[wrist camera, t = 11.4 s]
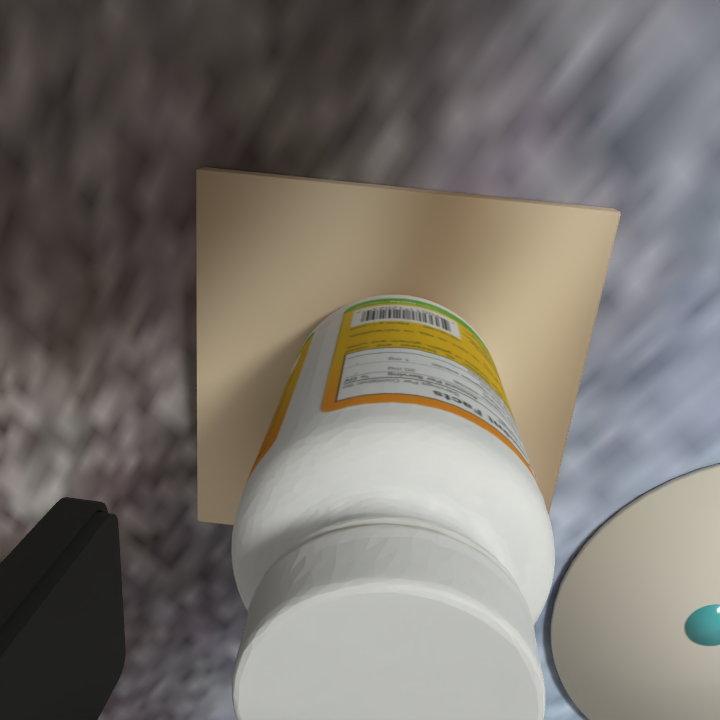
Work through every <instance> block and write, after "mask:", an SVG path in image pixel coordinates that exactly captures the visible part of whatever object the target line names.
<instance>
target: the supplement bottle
mask: <svg viewBox="0 0 720 720" xmlns="http://www.w3.org/2000/svg"><path fill="white" fill-rule="evenodd" d="M231 553H232V566H233V572H234V577H235V581H236V584H237V588H238V591H239V594H240V596H241V599H242V601H243V603H244V605H245V607H246V609H247V611H248V612H247V618H246V623H245V628H244V632H243V635H242V639H241V643H240V646H239V650H238V654H237V658H236V662H235V666H234V671H233V681H232V699H233V706H234V711H235V714H236V717H237V720H543V718H544V712H545V684H544V679H543V674H542V669H541V664H540V659H539V654H538V649H537V644H536V639H535V632H534V624H535V623H536V621H537V619H538V618H539V616H540V614H541V612H542V610H543V608H544V605H545V603H546V600H547V598H548V595H549V592H550V588H551V585H552V580H553V574H554V567H555V548H554V537H553V532H552V527H551V523H550V519H549V515H548V512H547V509H546V506H545V502H544V499H543V495H542V493H541V490H540V488H539V485H538V482H537V479H536V476H535V474H534V472H533V469H532V467H531V464H530V461H529V459H528V456H527V453H526V450H525V448H524V445H523V442H522V439H521V436H520V433H519V431H518V428H517V425H516V422H515V420H514V417H513V414H512V411H511V408H510V406H509V403H508V400H507V397H506V394H505V391H504V389H503V386H502V383H501V380H500V377H499V374H498V372H497V369H496V366H495V364H494V362H493V359H492V357H491V355H490V353H489V351H488V349H487V347H486V345H485V343H484V341H483V340H482V339H481V337H480V336H479V335H478V333H477V332H476V331H475V330H474V329H473V328H472V327H471V325H469V324H468V323H467V322H466V321H465V320H464V319H463V318H461V317H460V316H458V315H457V314H456V313H454V312H452V311H451V310H449V309H447V308H445V307H443V306H441V305H439V304H437V303H434V302H432V301H429V300H426V299H423V298H419V297H414V296H408V295H379V296H373V297H368V298H364V299H361V300H358V301H355V302H353V303H350V304H348V305H346V306H344V307H342V308H340V309H339V310H337V311H335V312H334V313H332V314H331V315H329V316H328V317H327V318H326V319H324V320H323V321H322V322H321V323H320V324H319V325H318V326H317V327H316V328H315V329H314V330H313V331H312V333H311V334H310V335H309V336H308V338H307V339H306V341H305V342H304V344H303V346H302V347H301V349H300V351H299V353H298V355H297V357H296V360H295V362H294V364H293V367H292V369H291V372H290V374H289V377H288V380H287V383H286V385H285V388H284V390H283V393H282V396H281V398H280V400H279V403H278V406H277V408H276V411H275V413H274V416H273V418H272V421H271V423H270V426H269V428H268V431H267V433H266V436H265V438H264V441H263V443H262V446H261V448H260V450H259V453H258V455H257V458H256V460H255V463H254V465H253V467H252V470H251V472H250V475H249V478H248V480H247V483H246V485H245V488H244V491H243V494H242V497H241V500H240V504H239V507H238V510H237V514H236V517H235V521H234V527H233V532H232V548H231Z"/></svg>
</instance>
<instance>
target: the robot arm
mask: <svg viewBox="0 0 720 720" xmlns="http://www.w3.org/2000/svg"><path fill="white" fill-rule="evenodd" d="M124 661H125V633H124V616H123V598H122V581H121V563H120V546H119V528H118V519H117V517H116V515H115V514H110V513H108V510H107V507H106V505H105V504H104V503H102V502H98V501H90V500H83V499H75V498H68V497H66V498H62V499H61V500H59V501H58V502H57V503H56V504H55V505H54V506H53V507H52V508H51V509H50V510H49V512H48V513H47V514H46V515H45V516H44V517H43V518H42V519H41V520H40V521H39V522H38V523H37V525H36V526H35V527H34V528H33V529H32V530H31V531H30V532H29V533H28V534H27V535H26V536H25V538H24V539H23V540H22V541H21V542H20V543H19V544H18V545H17V546H16V547H15V548H14V549H13V551H12V552H11V553H10V554H9V555H8V556H7V557H6V558H5V559H4V560H3V561H2V562H1V564H0V720H97V719H98V717H99V716H100V714H101V712H102V710H103V708H104V706H105V704H106V702H107V700H108V699H109V697H110V695H111V693H112V691H113V689H114V687H115V685H116V684H117V682H118V680H119V677H120V675H121V672H122V669H123V666H124Z"/></svg>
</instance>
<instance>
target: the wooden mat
mask: <svg viewBox="0 0 720 720" xmlns="http://www.w3.org/2000/svg"><path fill="white" fill-rule="evenodd" d="M620 214H621V212H619V211H617V210H615V209H613V208H604V207H594V206H584V205H574V204H564V203H555V202H545V201H535V200H525V199H515V198H505V197H495V196H485V195H475V194H465V193H456V192H446V191H436V190H426V189H416V188H406V187H396V186H386V185H376V184H367V183H357V182H347V181H337V180H327V179H317V178H307V177H297V176H287V175H277V174H268V173H258V172H248V171H238V170H228V169H218V168H208V167H202V168H199V169H196V243H197V521H201V522H210V523H219V524H228V525H234V521H235V517H236V514H237V510H238V507H239V504H240V500H241V497H242V494H243V491H244V488H245V485H246V483H247V480H248V478H249V475H250V472H251V470H252V467H253V465H254V463H255V460H256V458H257V455H258V453H259V450H260V448H261V446H262V443H263V441H264V438H265V436H266V433H267V431H268V428H269V426H270V423H271V421H272V418H273V416H274V413H275V411H276V408H277V406H278V403H279V400H280V398H281V396H282V393H283V390H284V388H285V385H286V383H287V380H288V377H289V374H290V372H291V369H292V367H293V364H294V362H295V360H296V357H297V355H298V353H299V351H300V349H301V347H302V346H303V344H304V342H305V341H306V339H307V338H308V336H309V335H310V334H311V333H312V331H313V330H314V329H315V328H316V327H317V326H318V325H319V324H320V323H321V322H322V321H323V320H324V319H326V318H327V317H328V316H329V315H331V314H332V313H334V312H335V311H337V310H339V309H340V308H342V307H344V306H346V305H348V304H350V303H353V302H355V301H358V300H361V299H364V298H368V297H373V296H379V295H408V296H414V297H419V298H423V299H426V300H429V301H432V302H434V303H437V304H439V305H441V306H443V307H445V308H447V309H449V310H451V311H452V312H454V313H456V314H457V315H458V316H460V317H461V318H463V319H464V320H465V321H466V322H467V323H468V324H469V325H471V327H472V328H473V329H474V330H475V331H476V332H477V333H478V335H479V336H480V337H481V339H482V340H483V341H484V343H485V345H486V347H487V349H488V351H489V353H490V355H491V357H492V359H493V362H494V364H495V366H496V369H497V372H498V374H499V377H500V380H501V383H502V386H503V389H504V391H505V394H506V397H507V400H508V403H509V406H510V408H511V411H512V414H513V417H514V420H515V422H516V425H517V428H518V431H519V433H520V436H521V439H522V442H523V445H524V448H525V450H526V453H527V456H528V459H529V461H530V464H531V467H532V469H533V472H534V474H535V476H536V479H537V482H538V485H539V488H540V490H541V493H542V495H543V499H544V502H545V506H546V509H547V512H548V515H549V511H550V507H551V503H552V499H553V494H554V490H555V486H556V482H557V478H558V474H559V469H560V465H561V461H562V457H563V453H564V448H565V444H566V440H567V436H568V432H569V428H570V423H571V419H572V415H573V411H574V407H575V402H576V398H577V394H578V390H579V386H580V382H581V377H582V373H583V369H584V365H585V361H586V356H587V352H588V348H589V344H590V340H591V336H592V331H593V327H594V323H595V319H596V315H597V310H598V306H599V302H600V298H601V294H602V290H603V285H604V281H605V277H606V273H607V269H608V264H609V260H610V256H611V252H612V248H613V243H614V239H615V235H616V231H617V227H618V223H619V218H620Z"/></svg>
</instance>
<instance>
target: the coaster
mask: <svg viewBox="0 0 720 720" xmlns="http://www.w3.org/2000/svg"><path fill="white" fill-rule="evenodd" d="M551 647H552V653H553V658H554V663H555V666H556V669H557V671H558V674H559V677H560V680H561V682H562V684H563V686H564V688H565V689H566V691H567V693H568V695H569V696H570V698H571V700H572V701H573V702H574V703H575V705H576V706H577V707H578V708H579V710H580V711H581V712H582V713H583V714H584V715H585V716H586V717H587V718H588V719H589V720H720V463H719V464H715V465H712V466H708V467H705V468H701V469H698V470H695V471H693V472H690V473H688V474H685V475H682V476H680V477H677V478H675V479H672V480H670V481H668V482H666V483H664V484H662V485H660V486H658V487H656V488H654V489H653V490H651V491H649V492H647V493H645V494H643V495H642V496H640V497H639V498H637V499H636V500H634V501H633V502H631V503H630V504H628V505H627V506H625V507H624V508H622V509H621V510H620V511H619V512H618V513H616V514H615V515H614V516H613V517H612V518H610V519H609V520H608V521H607V522H606V523H604V524H603V525H602V526H601V527H600V528H599V529H598V530H597V531H596V532H595V534H594V535H593V536H592V537H591V538H590V539H589V540H588V541H587V542H586V543H585V544H584V546H583V547H582V549H581V550H580V551H579V553H578V554H577V556H576V557H575V558H574V560H573V561H572V562H571V564H570V566H569V568H568V570H567V572H566V574H565V576H564V578H563V579H562V581H561V584H560V587H559V589H558V592H557V595H556V598H555V601H554V605H553V611H552V617H551Z"/></svg>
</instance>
